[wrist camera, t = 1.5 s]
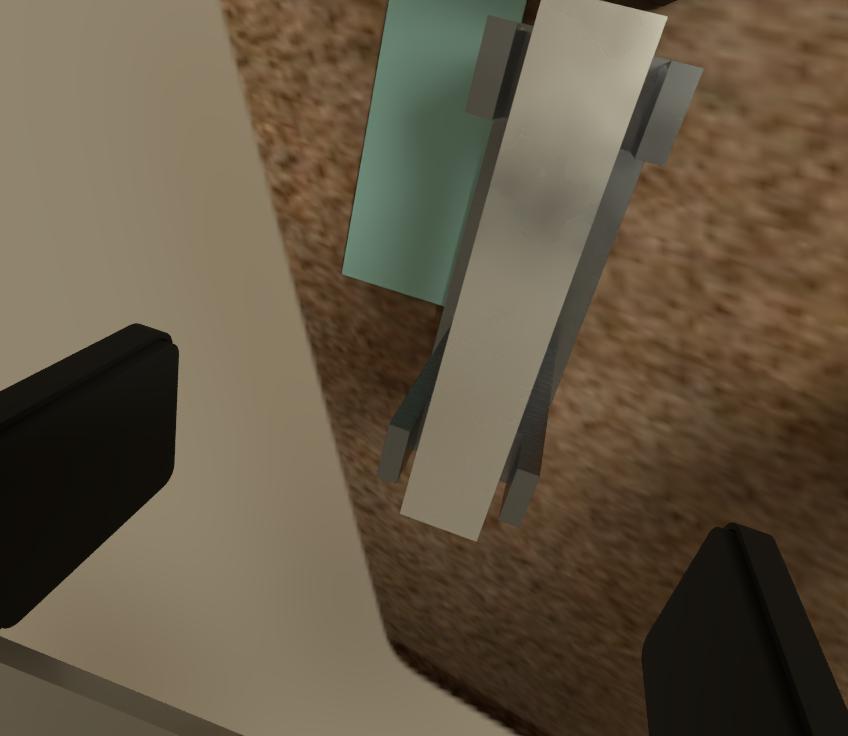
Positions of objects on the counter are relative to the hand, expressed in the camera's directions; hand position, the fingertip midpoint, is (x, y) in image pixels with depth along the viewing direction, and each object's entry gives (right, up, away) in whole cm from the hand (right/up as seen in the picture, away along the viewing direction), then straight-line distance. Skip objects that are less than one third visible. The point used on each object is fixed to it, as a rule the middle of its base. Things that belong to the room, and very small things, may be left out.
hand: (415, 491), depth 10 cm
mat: (+1, +14, +18) cm, 23 cm away
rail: (+3, +5, +11) cm, 12 cm away
